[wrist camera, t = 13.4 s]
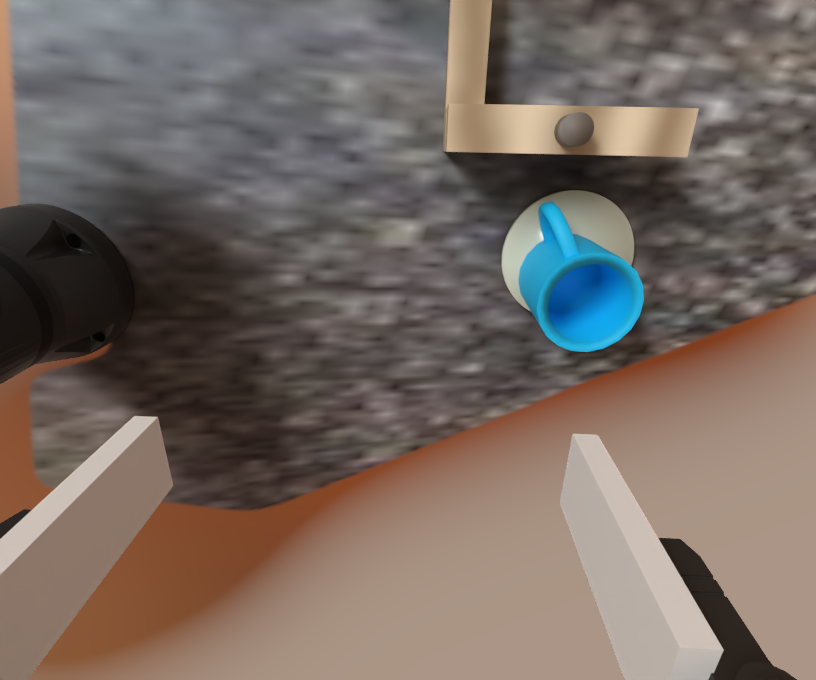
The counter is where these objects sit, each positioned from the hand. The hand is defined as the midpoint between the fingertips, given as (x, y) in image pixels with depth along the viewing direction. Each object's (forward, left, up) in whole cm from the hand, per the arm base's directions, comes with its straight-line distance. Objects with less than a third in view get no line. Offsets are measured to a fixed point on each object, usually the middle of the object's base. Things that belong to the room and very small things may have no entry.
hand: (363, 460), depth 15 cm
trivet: (+15, 0, -32) cm, 35 cm away
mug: (+14, 0, -31) cm, 34 cm away
